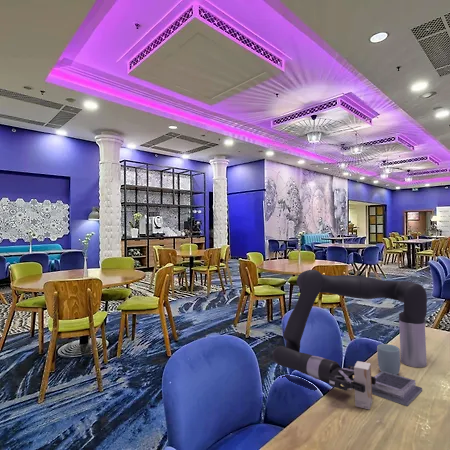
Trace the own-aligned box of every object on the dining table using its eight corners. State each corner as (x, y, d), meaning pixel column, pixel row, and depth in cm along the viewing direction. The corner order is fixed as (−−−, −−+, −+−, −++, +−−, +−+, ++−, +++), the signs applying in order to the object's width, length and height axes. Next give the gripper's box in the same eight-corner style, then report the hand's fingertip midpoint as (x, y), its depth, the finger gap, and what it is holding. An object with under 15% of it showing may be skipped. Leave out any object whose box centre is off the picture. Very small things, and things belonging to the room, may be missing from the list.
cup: (403, 378, 118) (402, 351, 118) (381, 377, 120) (380, 350, 120) (397, 370, 126) (395, 344, 126) (375, 368, 127) (374, 343, 128)
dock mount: (380, 377, 119) (379, 368, 120) (422, 390, 109) (421, 380, 109) (363, 390, 110) (362, 380, 110) (407, 406, 100) (406, 394, 100)
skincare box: (369, 410, 98) (368, 370, 98) (354, 406, 100) (353, 367, 101) (372, 400, 103) (371, 362, 104) (358, 397, 106) (357, 360, 106)
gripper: (311, 364, 108) (359, 380, 96) (333, 353, 118) (379, 366, 105) (311, 387, 108) (360, 405, 95) (333, 373, 117) (380, 389, 105)
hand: (370, 384), depth 100 cm, fingers closed on skincare box, 7 cm apart
